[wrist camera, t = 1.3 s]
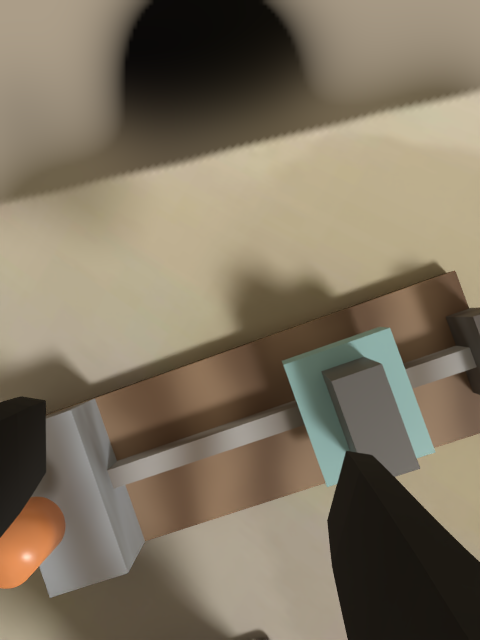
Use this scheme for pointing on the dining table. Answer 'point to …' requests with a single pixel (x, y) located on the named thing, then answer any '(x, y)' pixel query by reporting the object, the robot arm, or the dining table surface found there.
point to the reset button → (30, 540)
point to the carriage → (359, 403)
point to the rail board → (234, 430)
